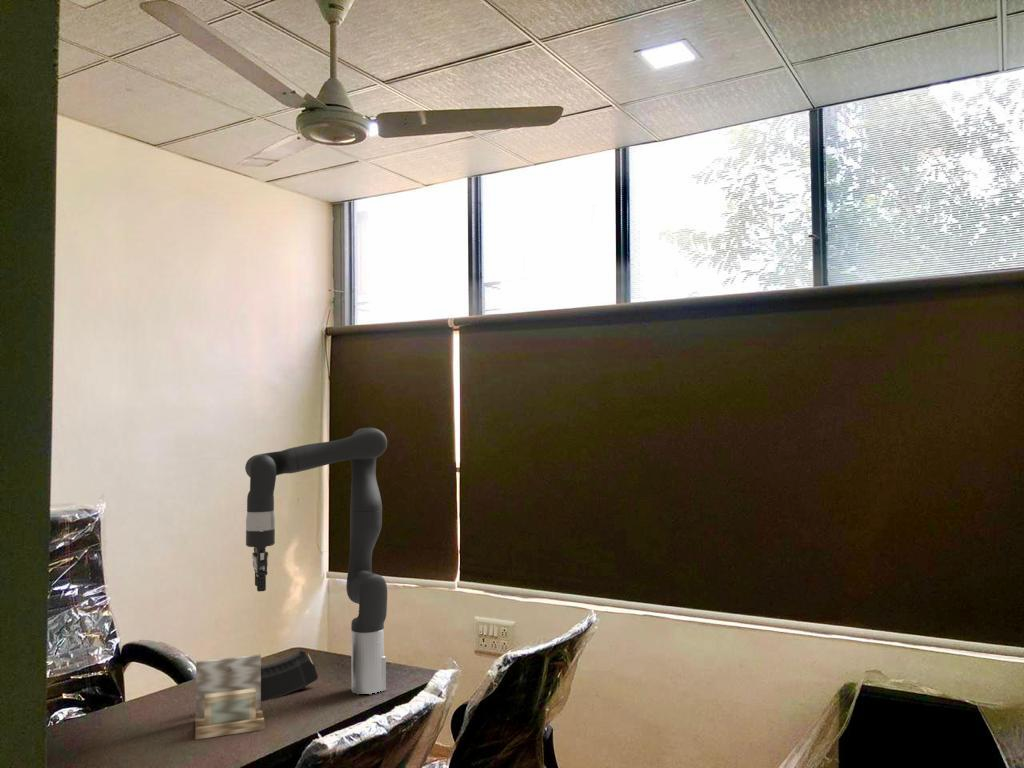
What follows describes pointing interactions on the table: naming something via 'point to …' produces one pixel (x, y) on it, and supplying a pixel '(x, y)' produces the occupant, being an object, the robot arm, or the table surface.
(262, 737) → the table surface
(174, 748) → the table surface
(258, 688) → the marble tile stand
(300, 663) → the magazine
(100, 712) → the table surface
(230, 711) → the frame
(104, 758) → the table surface
